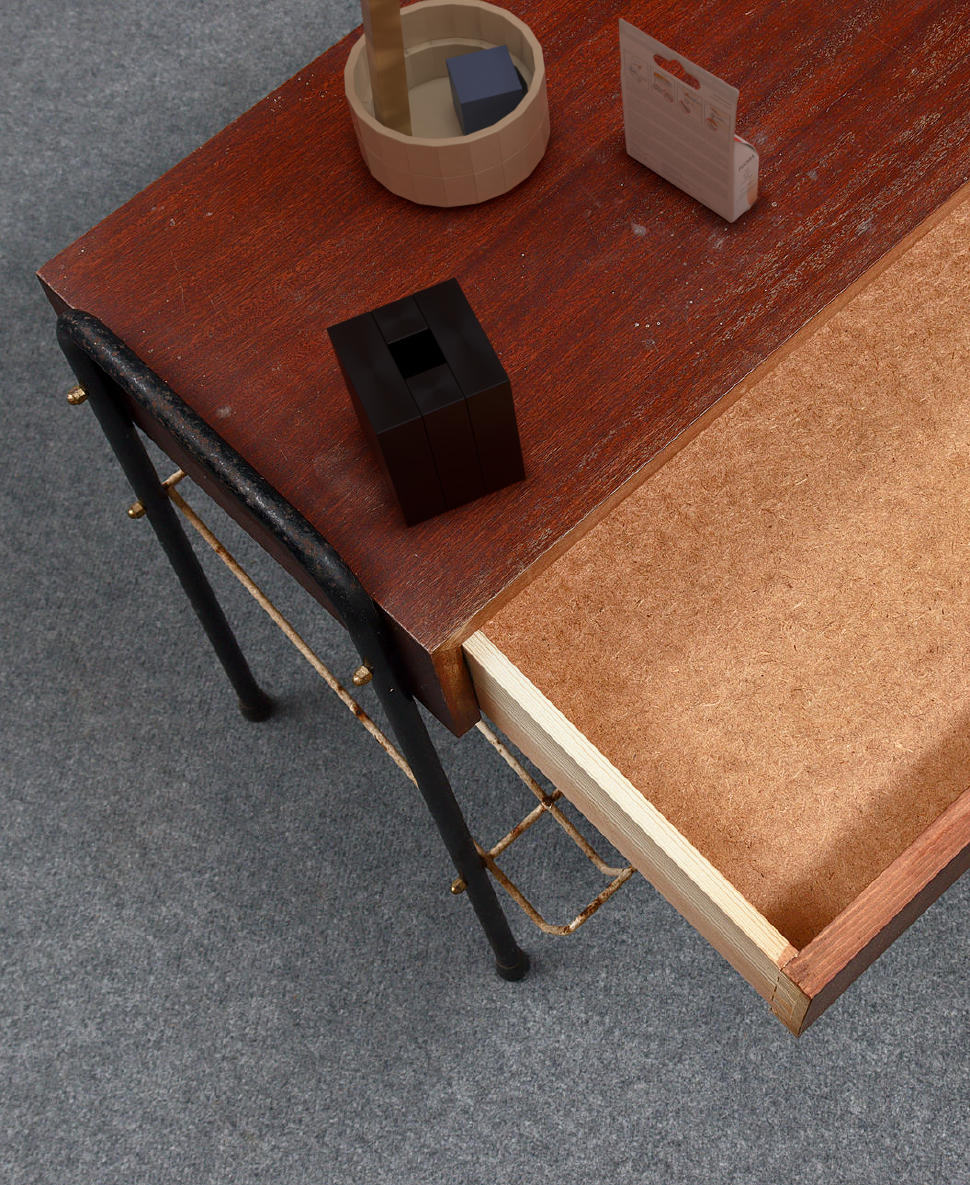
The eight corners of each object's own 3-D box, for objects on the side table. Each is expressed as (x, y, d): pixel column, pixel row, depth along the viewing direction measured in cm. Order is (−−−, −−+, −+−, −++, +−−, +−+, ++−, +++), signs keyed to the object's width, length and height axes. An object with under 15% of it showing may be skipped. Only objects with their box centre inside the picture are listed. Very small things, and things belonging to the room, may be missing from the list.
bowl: (403, 239, 88) (387, 173, 83) (335, 109, 93) (316, 38, 88) (581, 171, 90) (576, 101, 85) (504, 46, 95) (496, -27, 90)
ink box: (647, 131, 91) (647, -13, 81) (757, 203, 88) (771, 63, 78) (618, 157, 90) (614, 15, 80) (728, 230, 87) (738, 92, 77)
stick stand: (407, 529, 79) (376, 434, 70) (361, 429, 82) (325, 327, 73) (526, 478, 80) (510, 379, 71) (476, 382, 83) (455, 276, 74)
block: (468, 149, 90) (460, 103, 87) (453, 105, 92) (445, 58, 88) (527, 135, 91) (522, 88, 87) (511, 91, 92) (506, 44, 89)
